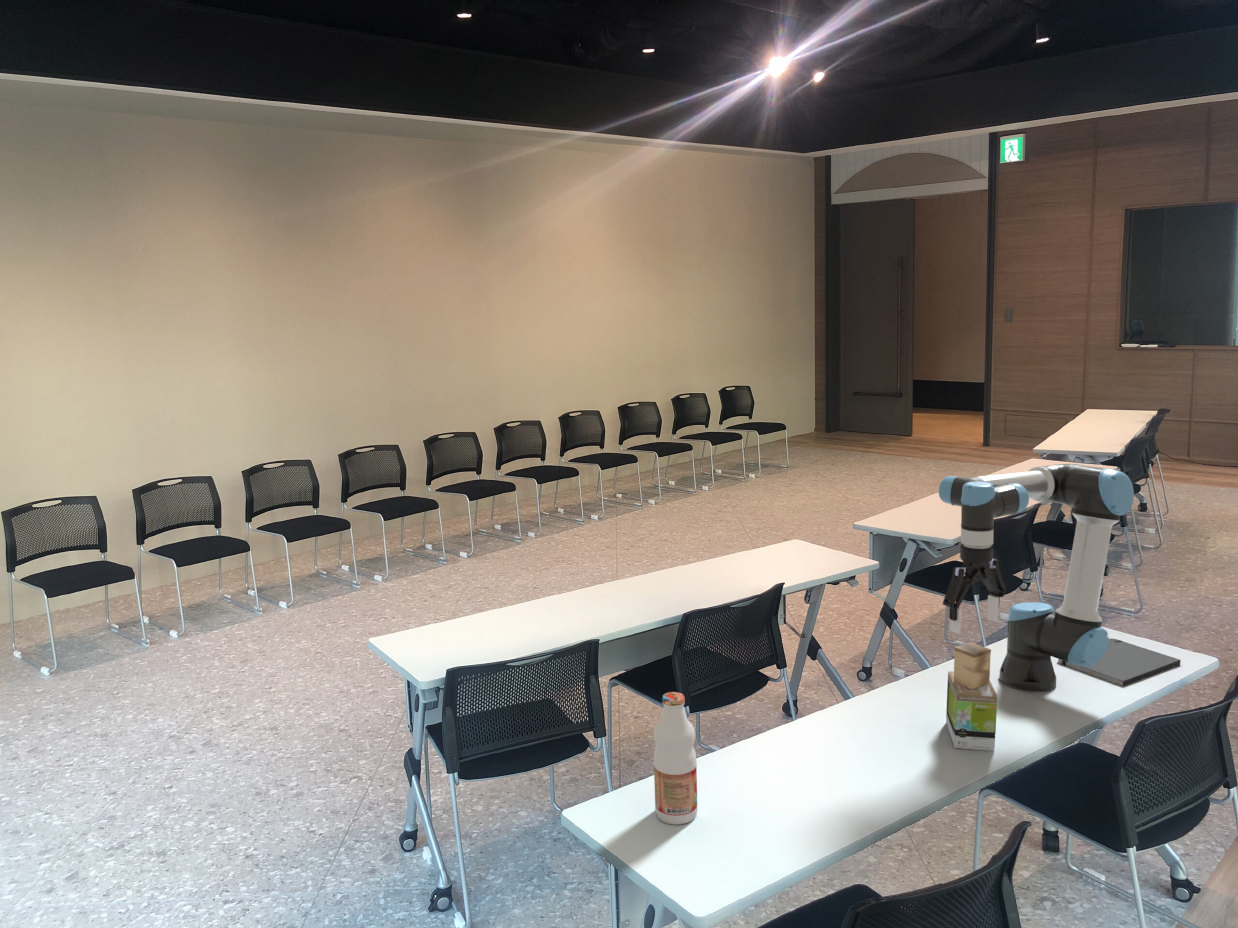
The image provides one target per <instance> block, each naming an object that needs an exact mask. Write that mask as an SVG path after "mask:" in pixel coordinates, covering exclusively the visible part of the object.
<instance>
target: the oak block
mask: <svg viewBox="0 0 1238 928" xmlns="http://www.w3.org/2000/svg"><path fill="white" fill-rule="evenodd" d="M953 650H954V660H953V661H954V663H953V672H954V681H955V682H957V683H960V684H962V685H964V686H967V687H969V688H971V689H975V688H978V687H981V686H984V685H987V684H989V680H990V675H991V653H992V649H990V648H989V647H988V648H987V647H985V646H982V645H980V644H977V643H974V642H968V643H967V642H966V643H965V644H961V645H957V646H954V649H953ZM990 681H991V680H990Z"/></svg>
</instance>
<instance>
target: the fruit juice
mask: <svg viewBox="0 0 1238 928" xmlns="http://www.w3.org/2000/svg"><path fill="white" fill-rule="evenodd" d="M661 701H662V702H661V703H662V705H663V708H662V709H663V710H662V713H661V715H660V719H659V720H658V722H657V724H656V725H655V727H654V729H653V739H654V743H655V749H654V753H653V773H654V774H653V775H654V777H653V779H654V806H655V807H654V809H655V815H656V817H657V818H658V820H659V821H661V822H663V823H666V824H668V825H677V826H678V825H680V826H681V825H684V824H688V823H690V822H692V821H693V820H695V819H696V817H697V813H698V779H697V778H698V776H697V773H698V772H697V768H698V767H697V753H696V750H695V748H694V744H695V740H696V732H695V728H694V725H693V724H692V722H691V721H689V719H688V717H687V715H686V711H685V707H684V705H685V702H686V699H685V695H684V694H683V693H681V692H678V691H677V692H676V691H670V692H666V693H664V694H662V698H661Z"/></svg>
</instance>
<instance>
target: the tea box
mask: <svg viewBox="0 0 1238 928" xmlns="http://www.w3.org/2000/svg"><path fill="white" fill-rule="evenodd" d="M947 673H948V674H947V691H946V709H945V710H946V712H945V723H946V725H947V730H948V732H949V734H950V739H951V742H952V745H953V747H954V748H955V749H962V750H973V751H974V750H976V751H993V752H994V751H995V749H996V748H995V747H996V734H997V732H996V731H997V730H996V729H997V713H998V710H997V709H998V694H997V693H996V691H995V688H994V685H993V684H992V682H991V680H989V684H987V685H984V686H981V687H978V688H975V689H971V688H969V687H967V686H964V685H962V684H960V683H957V682H955V681H954V671H951V670H950V671H948V672H947Z"/></svg>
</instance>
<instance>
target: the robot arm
mask: <svg viewBox="0 0 1238 928" xmlns="http://www.w3.org/2000/svg"><path fill="white" fill-rule="evenodd" d="M938 496H939V499H940V500H941V501H942V502H943V503H945V504H949V505H951V506H952V507H953V506H957V507H960V511H961V522H960V543H961V545H960V547H959V549H960V551H959V558H960V560H961V561H962V563H963V564H962V566H961V567H957V566H954V567H953V568H952V576H951V579H950V582H949V584H948V587H947V590H946V593H945V595H944V598H943V601H942V605H943V606H945V607H948V608H949V614H948V615H949V616H948V618H949V631H950V632H953V633H956V634H957V635H960V634H961V633H962V608H961V607H960V606H961V604H962V602H963V600H964V598H965V596H966V595H967V593H968V592H969V589H970V588H971V587H972V586H973V585H974V584H975V583H978V582H982V584H983V585H984V586H985V588H986V589H987V590H988V592H989V593H990V594H988V595H987V615H986V617H987V618H986V620H988V621H991V622H994V623H998V622H999V608H1000V604H1001V603H1000V602H1001V601H1000V600H1001V598H1003V597H1005V593H1006V592H1007V588H1006V585H1005V582H1004V580H1003V576H1002V573H1001V570H1000V566H999V563H1000V562H999V559H995V558H993V557H994V556H993V554H994V552H993V551H994V548H993V544H994V521H995V519H996V518H1001V517H1007V516H1010V515H1015V514H1018V513H1020V512H1023V511H1024V510H1026V509H1027V507H1028V505H1029V502H1030V500H1033V501H1037V502H1044V501H1045V502H1046V501H1047V502H1052V503H1056V504H1062V505H1066V506H1070V507H1072V512H1071V514H1072V516H1073V517H1074V519H1076V523H1075V524H1076V526H1075V532H1074V537H1073V543H1072V548H1071V555H1070V560H1069V567H1068V571H1067V579H1066V584H1065V590H1064V596H1063V601H1062V604H1061V606H1060V607H1058V608H1056V609H1055V610H1054V607H1053V606H1052V605H1051V604H1049V603H1045V602H1035V601H1034V602H1033V601H1032V602H1031V601H1029V602H1021V603H1017V604H1013V605H1012V606H1011V607H1010V608H1009V610H1008V618H1007V639H1006V640H1007V641H1006V642H1007V643H1006V644H1007V645H1006V654H1005V657H1004V659H1003V661H1002V663H1001V666H1000V668H999V677H998V678H999V681H1001V682H1002V684H1004V685H1006V686H1007V687H1008V686H1009V687H1011V688H1013V689H1017V690H1021V691H1027V692H1045V691H1051V690H1052V689H1055V687H1056V686H1057V674H1056V673H1055V668H1054V665H1053V662H1052V658H1056V659H1057V660H1058V659H1061V660H1064V661H1066V662H1069V663H1071V664H1073V665H1074V664H1075V665H1079V666H1082V667H1090V666H1093V665H1094V664H1096V663H1097V662H1098V661H1099V660H1100V659H1101V658H1102V657H1103V655H1104V654H1105V652H1106V649H1107V647H1108V643H1109V639H1110V638H1109V637H1110V636H1109V633H1108V631H1107V630H1106V629H1105V628H1104V627H1102V625H1103V618H1102V617H1101V615H1099V613H1098V610H1099V604H1100V599H1101V598H1100V597H1101V593H1102V586H1103V581H1104V574H1105V569H1106V563H1107V559H1108V554H1109V553H1108V552H1109V546H1110V540H1111V535H1112V534H1111V533H1112V529H1113V526H1114V525H1115V524H1118V523H1119V522H1120V521H1121V516H1125V515H1127V514H1128V513H1129V512H1130V511H1131V509H1132V506H1133V503H1134V499H1135V498H1134V497H1135V491H1134V486H1133V483H1132V481H1131V478H1130V477H1129V476H1128V475H1127V474H1126V473H1124V472H1123V471H1121V470H1115V469H1112V468H1103V467H1097V466H1089V465H1081V464H1075V463H1061V464H1052V465H1045V466H1044V465H1042V466H1034V467H1032V468H1030V469H1029V470H1027V471H1021V472H1011V473H1003V474H1002V473H999V474H989V475H981V476H980V475H979V476H971V477H969V476H968V477H961V476H957V475H955V476H954V475H948V476H945V477H944V478H943V479H942V480H941V482H940V483H939V486H938ZM1054 612H1055V613H1054ZM1051 657H1052V658H1051Z"/></svg>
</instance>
